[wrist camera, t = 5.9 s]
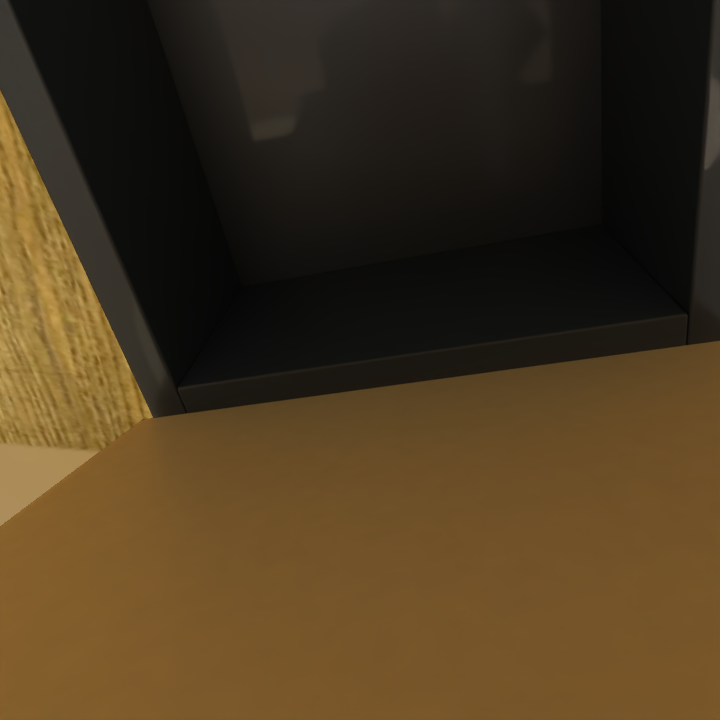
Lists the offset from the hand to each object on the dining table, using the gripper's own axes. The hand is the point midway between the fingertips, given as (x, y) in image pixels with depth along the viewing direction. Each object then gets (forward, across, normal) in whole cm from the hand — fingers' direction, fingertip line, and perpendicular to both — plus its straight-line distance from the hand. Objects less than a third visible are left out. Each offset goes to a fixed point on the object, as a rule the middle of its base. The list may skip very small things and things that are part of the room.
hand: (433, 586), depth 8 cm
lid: (-4, 0, -3) cm, 5 cm away
